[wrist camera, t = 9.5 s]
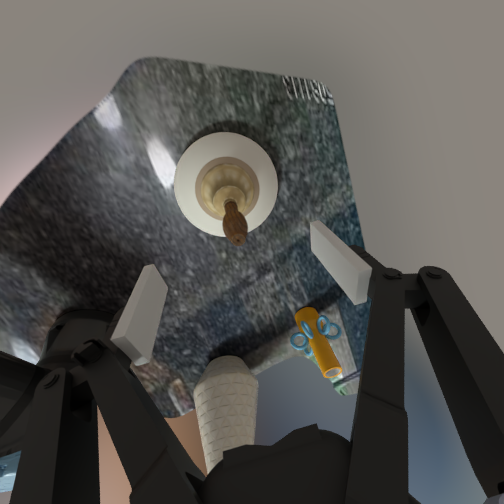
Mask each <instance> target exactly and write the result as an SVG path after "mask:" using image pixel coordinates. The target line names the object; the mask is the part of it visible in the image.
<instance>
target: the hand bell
mask: <svg viewBox="0 0 504 504" xmlns="http://www.w3.org/2000/svg"><path fill="white" fill-rule="evenodd" d="M200 191H201V197H202V200H203V202H204V204H205V205H206V207H207V208H208V209H209V210H210V211H211V212H213V213H214V214H216V215H218V216H222V217H224V218H223V222H222V226H223V231H224V234H225V236H226V237H227V238H228V239H229V240H230V241H231V242H232V244H234V245H235V246H241V245H243V244H244V242H245V238H246V236H247V233H248V224H247V221H246V219H245V217H244V215H243V214H242V213H243V212H245V211H246V210H247V209H248V208H249V206H250V205H251V203H252V201H253V198H254V184H253V181H252V179H251V177H250V175H249V174H248V173H247V172H246V171H245V170H244V169H243V168H241V167H240V166H237V165H235V164H229V163H225V164H219V165H216V166H214V167H213V168H211V169H210V170H209V171H208V172H207V173H206V174H205V176H204V178H203V180H202V183H201V190H200Z"/></svg>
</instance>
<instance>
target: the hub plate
mask: <svg viewBox="0 0 504 504" xmlns="http://www.w3.org/2000/svg"><path fill="white" fill-rule="evenodd" d="M225 163H229V164H235V165H237V166H240V167H241V168H243V169H244V170H245V171H246V172H247V173H248V174H249V175H250V177H251V179H252V181H253V184H254V198H253V201H252V203H251V205H250V206H249V208H248V209H247V210H246V211H245V212H243V213H242V214H243V215H244V217H245V219H246V221H247V224H248V232H250V231H252V230H253V229H255V228H256V227H258V226H259V225H260V224H261V223H262V222H263V221H264V220H265V219H266V218H267V217H268V215H269V214H270V212H271V211H272V209H273V206H274V204H275V201H276V197H277V191H278V180H277V174H276V171H275V168H274V165H273V163H272V161H271V159H270V157H269V156H268V154H267V153H266V152H265V151H264V150H263V148H261V147H260V146H259V145H258V144H257V143H256V142H254V141H252V140H251V139H249V138H247V137H245V136H243V135H240V134H236V133H231V132H217V133H212V134H209V135H206V136H204V137H202V138H200V139H198V140H197V141H195V142H194V143H193V144H192V145H191V146H190V147H189V148H188V149H187V150H186V151H185V152H184V154H183V155H182V157H181V158H180V160H179V162H178V165H177V168H176V171H175V176H174V191H175V196H176V199H177V202H178V205H179V207H180V209H181V211H182V212H183V214H184V215H185V216H186V218H187V219H188V220H189V221H190V222H191V223H192V224H193V225H195V226H196V227H197V228H199V229H201V230H202V231H204V232H207V233H209V234H212V235H216V236H222V237H226V236H225V234H224V231H223V226H222V222H223V218H224V217H222V216H218V215H216V214H214V213H213V212H211V211H210V210H209V209H208V208H207V207H206V205H205V204H204V202H203V200H202V197H201V191H200V190H201V183H202V180H203V178H204V176H205V174H206V173H207V172H208V171H209V170H210V169H211V168H213V167H214V166H216V165H219V164H225Z"/></svg>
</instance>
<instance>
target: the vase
mask: <svg viewBox="0 0 504 504" xmlns="http://www.w3.org/2000/svg"><path fill="white" fill-rule="evenodd" d="M257 398H258V381H257V379H256V377H255V376H254V375H253V373H252V372H251V371H250V369H249V368H248V367H247V365H246V364H245V363H244V361H243V360H242V359H241V358H239V357H237V356H231V355H227V356H221V357H218V358H215V359H213V360H212V361H211V362H210V363H209V364H208V365H207V367H206V369H205V371H204V372H203V374H202V376H201V378H200V380H199V381H198V383H197V385H196V387H195V389H194V401H195V406H196V412H197V417H198V423H199V428H200V434H201V439H202V445H203V450H204V455H205V461H206V467H207V472H208V474H209V472H210V471H211V470H212V469H213V467H214V466H215V465H216V464H217V463H218V462H219V461H221V460H222V459H223V451H225V450H229V449H232V448H236V447H239V446H242V445H246V444H248V445H254V435H255V422H256V410H257Z"/></svg>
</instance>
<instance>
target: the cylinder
mask: <svg viewBox="0 0 504 504" xmlns="http://www.w3.org/2000/svg"><path fill="white" fill-rule="evenodd" d="M322 319H324V320H325V321H326V324H325V325H324V326H323V322H322ZM295 320H296V323H297V325H298V327H299V330H300V332H298V333H295V334H293V335H292V337H291V340H290V342H291V345H292V346H293V347H294V348H295V349H297V350H302V349H304V352H305V353H306V355H308V356H311V355H312V354H313V353H314V355H315V357H316V360H317V362H318V364H319V367H320V369H321V371H322V374H323V376H324V377H326V378H332V377H335V376H337V375H339V374H340V373H341V372H342V368H341V366H340V364H339V362H338V360H337V358H336V356H335V354H334V352H333V350H332V348H331V346H330V344H329V342H328V340H327V339H326V337H327V338H328V339H332V340H334V339H338V338H339V337H340V336H341V333H342V332H341V328H340V327H339V326H338V325H337V324H335V323H330V321H329V319H328V318H327V317H326V316H324V315H321V316H319V315H318V313H317V311H316V309H314V308H313V307H305V308H302V309H300V310H299V311H298V312H297V313H296V314H295ZM330 326H334V327H336V328H337V330H338V333H337V335H335V336H330V335H328V333H329V331H330ZM296 336H302V337H304V338H305V339H304V341H303V345H302V346H297V345H295V344H294V338H295V337H296ZM308 343H310V346H311V351H310V352H308V351H307V348H306V347H307V346H308Z"/></svg>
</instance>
